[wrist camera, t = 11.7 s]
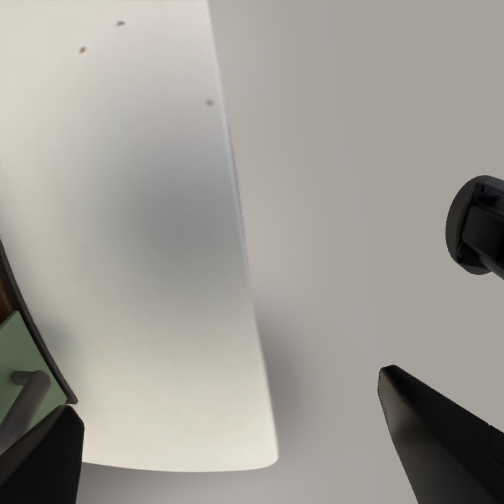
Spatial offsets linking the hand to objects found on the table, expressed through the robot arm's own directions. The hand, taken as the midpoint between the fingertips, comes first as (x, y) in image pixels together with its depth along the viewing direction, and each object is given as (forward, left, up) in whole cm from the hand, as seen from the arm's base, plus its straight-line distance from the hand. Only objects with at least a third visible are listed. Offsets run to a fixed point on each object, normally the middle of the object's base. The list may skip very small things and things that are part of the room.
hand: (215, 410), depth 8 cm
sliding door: (+12, +11, -11) cm, 20 cm away
